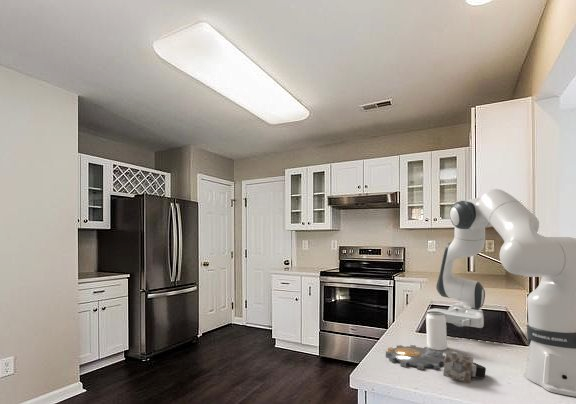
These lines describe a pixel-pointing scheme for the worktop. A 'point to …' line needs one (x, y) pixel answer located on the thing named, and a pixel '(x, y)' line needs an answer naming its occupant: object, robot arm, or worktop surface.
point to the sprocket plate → (416, 357)
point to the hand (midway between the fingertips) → (448, 321)
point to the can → (436, 331)
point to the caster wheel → (461, 367)
